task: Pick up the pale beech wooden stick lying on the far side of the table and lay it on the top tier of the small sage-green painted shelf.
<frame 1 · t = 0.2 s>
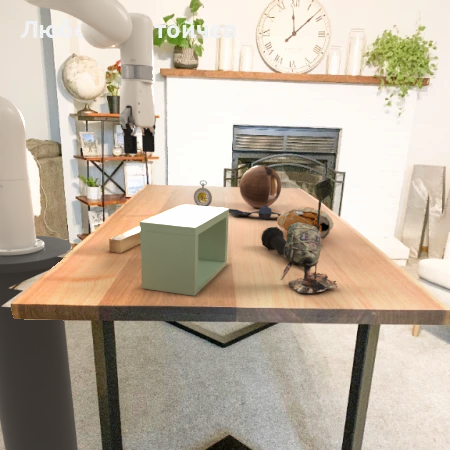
hand: (140, 152, 110), 21 cm above the table, tool pointing down, fingers open, 9 cm apart
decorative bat: (264, 218, 145), on the table
nautilus: (304, 240, 119), on the table
shelf: (188, 275, 87), on the table
wooden sphere: (258, 208, 163), on the table
microphone: (281, 257, 102), on the table
stick: (131, 244, 107), on the table
pocket watch: (200, 211, 152), on the table
plant with pod: (306, 288, 83), on the table
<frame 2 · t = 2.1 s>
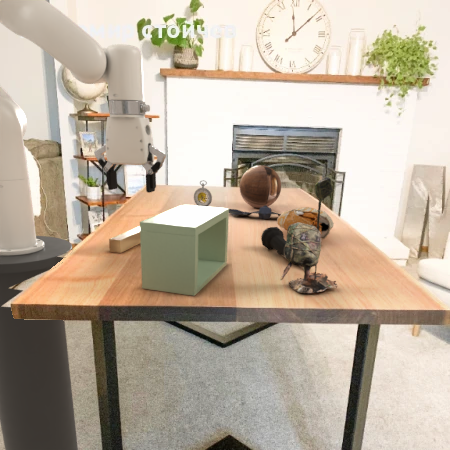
hand: (131, 190, 103), 13 cm above the table, tool pointing down, fingers open, 9 cm apart
nothing on the table moved.
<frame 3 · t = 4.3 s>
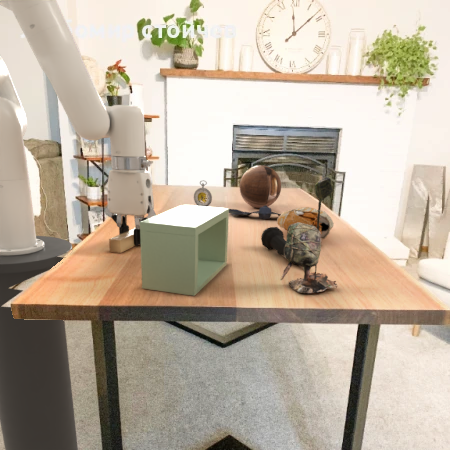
hand: (131, 242, 107), 0 cm above the table, tool pointing down, fingers closed on stick, 2 cm apart
stick: (131, 244, 107), on the table, touching gripper
everything else where it was.
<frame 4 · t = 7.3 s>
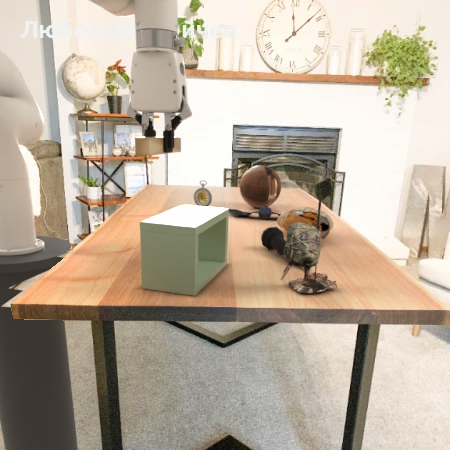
hand: (159, 151, 87), 23 cm above the table, tool pointing down, fingers closed on stick, 2 cm apart
stick: (160, 153, 87), point 22 cm above the table, touching gripper
everything else where it was.
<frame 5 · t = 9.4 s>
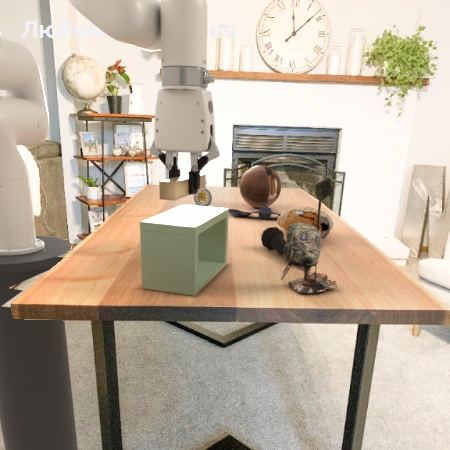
hand: (184, 191, 81), 16 cm above the table, tool pointing down, fingers closed on stick, 2 cm apart
stick: (184, 193, 81), point 16 cm above the table, touching gripper
everything else where it was.
when the fingers open (12 cm above the table, at t = 10.6 s): stick stays where it is, resting on shelf.
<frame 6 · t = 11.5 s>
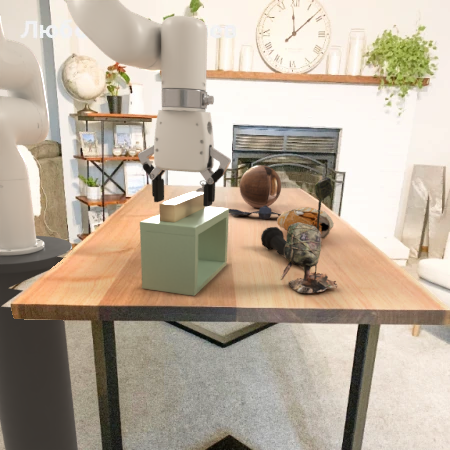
hand: (183, 203, 82), 14 cm above the table, tool pointing down, fingers open, 9 cm apart
stick: (184, 214, 83), point 12 cm above the table, touching shelf
everything else where it was.
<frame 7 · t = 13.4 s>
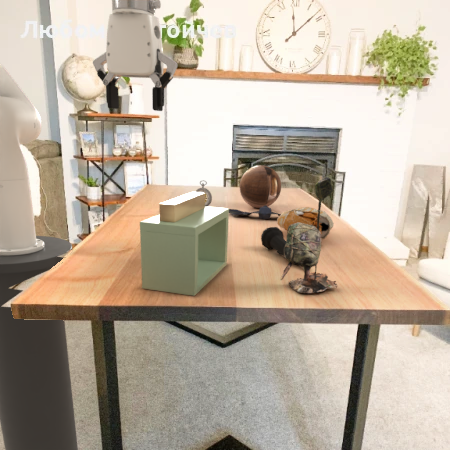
hand: (135, 109, 87), 30 cm above the table, tool pointing down, fingers open, 9 cm apart
nothing on the table moved.
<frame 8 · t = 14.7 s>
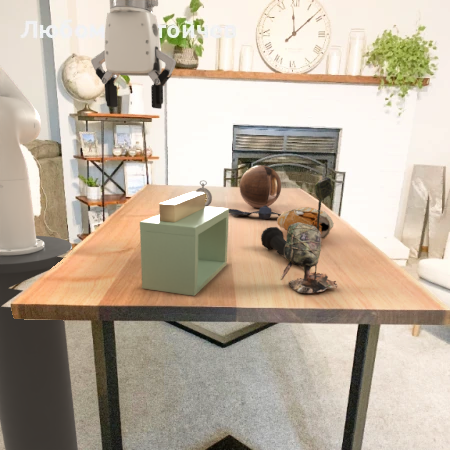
hand: (134, 107, 87), 30 cm above the table, tool pointing down, fingers open, 9 cm apart
nothing on the table moved.
at the end: stick inside the target area on the shelf (0.9 cm from its centre), point 12.0 cm above the shelf's base; the gripper is holding nothing; stick tilted 0° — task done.
